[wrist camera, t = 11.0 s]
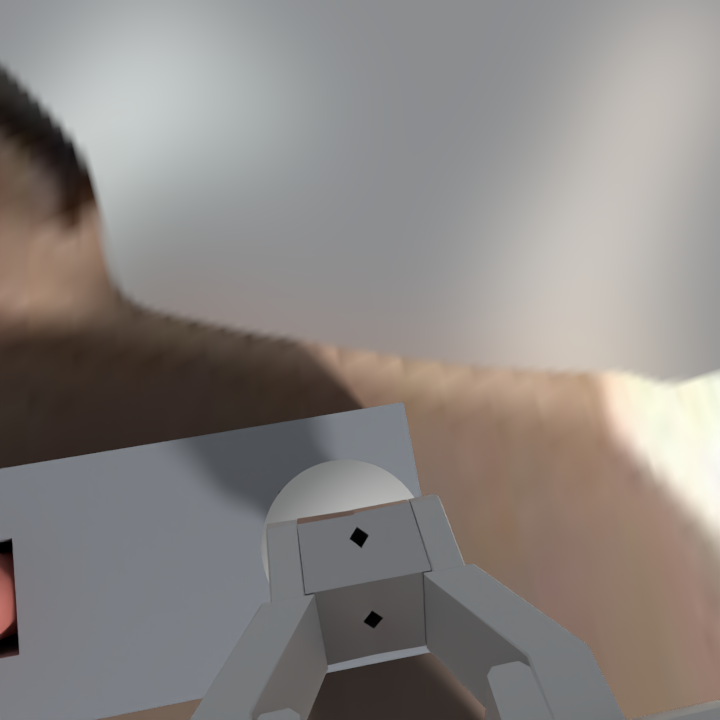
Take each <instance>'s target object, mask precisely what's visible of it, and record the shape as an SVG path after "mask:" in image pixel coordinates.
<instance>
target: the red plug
mask: <svg viewBox="0 0 720 720" xmlns="http://www.w3.org/2000/svg"><path fill="white" fill-rule="evenodd" d="M16 633H18V623H17V607H16V591H15V575H14V560H13V551H10V552H2V553H0V640H1V639H4V638H6V637H9V636H11V635H14V634H16Z"/></svg>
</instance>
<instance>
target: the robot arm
mask: <svg viewBox="0 0 720 720" xmlns="http://www.w3.org/2000/svg"><path fill="white" fill-rule="evenodd" d="M266 539H267V555H268V571H269V587H270V602H269V603H264V604H261V606H260V608H259V609H258V611H257V612H256V614H255V616H254V617H253V619H252V620H251V622H250V624H249V625H248V627H247V629H246V630H245V632H244V633H243V635H242V637H241V638H240V640H239V641H238V643H237V645H236V646H235V648H234V649H233V651H232V653H231V654H230V656H229V658H228V659H227V661H226V662H225V664H224V666H223V667H222V669H221V670H220V672H219V674H218V675H217V677H216V678H215V680H214V682H213V683H212V685H211V686H210V688H209V690H208V691H207V693H206V695H205V696H204V698H203V699H202V701H201V703H200V704H199V706H198V707H197V709H196V711H195V712H194V714H193V715H192V717H191V719H190V720H307V719H308V716H309V714H310V712H311V709H312V707H313V704H314V702H315V699H316V697H317V694H318V692H319V689H320V687H321V685H322V682H323V680H324V677H325V675H326V672H327V670H328V666H327V665H332V664H336V663H340V662H345V661H349V660H353V659H358V658H362V657H367V656H371V655H375V654H381V653H387V652H392V651H398V650H404V649H410V648H416V647H421V646H427V649H428V650H429V651H430V652H431V653H432V654H433V655H434V656H435V657H436V658H437V659H438V660H439V661H440V662H441V663H442V664H443V665H444V666H445V667H446V668H447V669H448V670H449V671H450V672H451V673H452V674H453V675H454V676H455V677H456V678H457V679H458V680H459V681H460V682H461V683H462V684H463V685H464V686H465V687H466V688H467V689H468V690H469V691H470V692H471V694H472V695H473V696H474V697H475V698H476V699H477V700H478V701H479V702H480V703H481V704H482V705H483V706H484V707H485V708H486V713H485V720H626V719H625V717H624V715H623V713H622V711H621V709H620V707H619V705H618V703H617V702H616V700H615V698H614V696H613V694H612V692H611V690H610V688H609V686H608V684H607V682H606V680H605V678H604V676H603V674H602V672H601V670H600V668H599V666H598V664H597V662H596V660H595V658H594V656H593V654H592V652H591V650H590V648H589V646H588V645H587V644H586V643H584V642H583V641H581V640H580V639H579V638H577V637H576V636H574V635H573V634H572V633H570V632H569V631H567V630H566V629H565V628H563V627H562V626H560V625H559V624H558V623H556V622H555V621H553V620H552V619H551V618H549V617H548V616H546V615H545V614H544V613H542V612H541V611H539V610H538V609H537V608H535V607H534V606H532V605H531V604H530V603H528V602H527V601H525V600H524V599H523V598H521V597H520V596H518V595H517V594H516V593H514V592H513V591H511V590H510V589H509V588H507V587H506V586H504V585H503V584H501V583H500V582H499V581H497V580H496V579H494V578H493V577H492V576H490V575H489V574H487V573H486V572H485V571H483V570H482V569H480V568H479V567H478V566H476V565H475V564H469V565H465V563H464V560H463V558H462V555H461V552H460V550H459V547H458V545H457V542H456V539H455V537H454V534H453V531H452V529H451V526H450V524H449V521H448V518H447V516H446V513H445V511H444V508H443V505H442V503H441V500H440V497H439V496H437V495H436V494H432V495H427V496H422V497H416V498H411V499H408V500H407V499H406V500H400V501H395V502H390V503H385V504H379V505H374V506H369V507H364V508H358V509H353V510H350V511H343V512H337V513H330V514H324V515H317V516H311V517H304V518H298V519H297V521H296V520H289V521H282V522H276V523H269V524H267V528H266ZM628 720H720V700H715V701H711V702H706V703H701V704H697V705H692V706H688V707H683V708H678V709H674V710H669V711H665V712H660V713H655V714H651V715H646V716H642V717H637V718H633V719H628Z"/></svg>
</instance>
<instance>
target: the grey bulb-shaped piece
mask: <svg viewBox="0 0 720 720" xmlns="http://www.w3.org/2000/svg"><path fill="white" fill-rule="evenodd" d="M411 498H414V497H413V495H412V494H411V492H410V491H409V490H408V489H407V488H406V486H405V485H404V484H403V483H402V482H401V481H400V480H398V479H397V478H396V477H395V476H393V475H392V474H391V473H389V472H387V471H386V470H384V469H382V468H380V467H378V466H376V465H373V464H370V463H367V462H363V461H357V460H333V461H328V462H324V463H320V464H318V465H315V466H313V467H310V468H309V469H307V470H305V471H303V472H301V473H300V474H299V475H297V476H296V477H294V478H293V479H292V480H291V481H290V482H289V483H288V484H287V485H286V486H285V487H284V488H283V489H282V490H281V492H280V493H279V494H278V495H277V497H276V499H275V500H274V502H273V503H272V505H271V507H270V510H269V512H268V514H267V517H266V520H265V523H264V527H263V533H262V544H261V550H262V561H263V565H264V570H265V573H266V576H267V579H268V582H269V571H268V555H267V539H266V528H267V524H269V523H276V522H282V521H289V520H296V521H297V519H298V518H304V517H311V516H317V515H324V514H330V513H337V512H343V511H350V510H353V509H358V508H364V507H369V506H374V505H379V504H385V503H390V502H395V501H400V500H406V499H407V500H408V499H411Z"/></svg>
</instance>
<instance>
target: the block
mask: <svg viewBox="0 0 720 720" xmlns="http://www.w3.org/2000/svg"><path fill="white" fill-rule="evenodd" d="M333 460H357V461H363V462H367V463H370V464H373V465H376V466H378V467H380V468H382V469H384V470H386V471H387V472H389V473H391V474H392V475H393V476H395V477H396V478H397V479H398V480H400V481H401V482H402V483H403V484H404V485H405V486H406V488H407V489H408V490H409V491H410V492H411V494H412V495H413V497H414V498H416V497H421V492H420V486H419V481H418V476H417V471H416V465H415V460H414V455H413V450H412V444H411V439H410V434H409V429H408V423H407V418H406V413H405V407H404V402H401V403H395V404H389V405H383V406H377V407H371V408H365V409H359V410H353V411H347V412H341V413H334V414H328V415H322V416H316V417H310V418H304V419H298V420H292V421H286V422H280V423H274V424H268V425H262V426H256V427H250V428H244V429H238V430H232V431H226V432H220V433H214V434H207V435H201V436H195V437H189V438H183V439H177V440H171V441H165V442H159V443H153V444H147V445H141V446H135V447H129V448H123V449H117V450H111V451H105V452H99V453H93V454H87V455H80V456H74V457H68V458H62V459H56V460H50V461H44V462H38V463H32V464H26V465H20V466H14V467H8V468H2V469H0V553H2V552H10V551H11V546H13V560H14V575H15V591H16V607H17V623H18V633H16V634H14V635H11V636H9V637H6V638H4V639H1V640H0V720H95V719H100V718H105V717H110V716H115V715H120V714H125V713H130V712H135V711H140V710H145V709H150V708H155V707H160V706H165V705H170V704H175V703H180V702H185V701H190V700H195V699H200V698H204V696H205V695H206V693H207V691H208V690H209V688H210V686H211V685H212V683H213V682H214V680H215V678H216V677H217V675H218V674H219V672H220V670H221V669H222V667H223V666H224V664H225V662H226V661H227V659H228V658H229V656H230V654H231V653H232V651H233V649H234V648H235V646H236V645H237V643H238V641H239V640H240V638H241V637H242V635H243V633H244V632H245V630H246V629H247V627H248V625H249V624H250V622H251V620H252V619H253V617H254V616H255V614H256V612H257V611H258V609H259V608H260V606H261V604H264V603H269V602H270V587H269V582H268V579H267V576H266V573H265V570H264V565H263V561H262V550H261V544H262V533H263V527H264V523H265V520H266V517H267V514H268V512H269V510H270V507H271V505H272V503H273V502H274V500H275V499H276V497H277V495H278V494H279V493H280V492H281V490H282V489H283V488H284V487H285V486H286V485H287V484H288V483H289V482H290V481H291V480H292V479H293V478H294V477H296V476H297V475H299V474H300V473H301V472H303V471H305V470H307V469H309V468H310V467H313V466H315V465H318V464H320V463H324V462H328V461H333ZM429 652H430V651H429V650H428V649H427V646H421V647H416V648H410V649H404V650H398V651H392V652H387V653H381V654H375V655H371V656H367V657H362V658H358V659H353V660H349V661H345V662H340V663H336V664H332V665H327V666H328V670H327V672H326V673H330V672H335V671H340V670H345V669H350V668H355V667H359V666H364V665H369V664H374V663H379V662H384V661H389V660H394V659H399V658H404V657H409V656H414V655H419V654H424V653H429Z"/></svg>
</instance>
